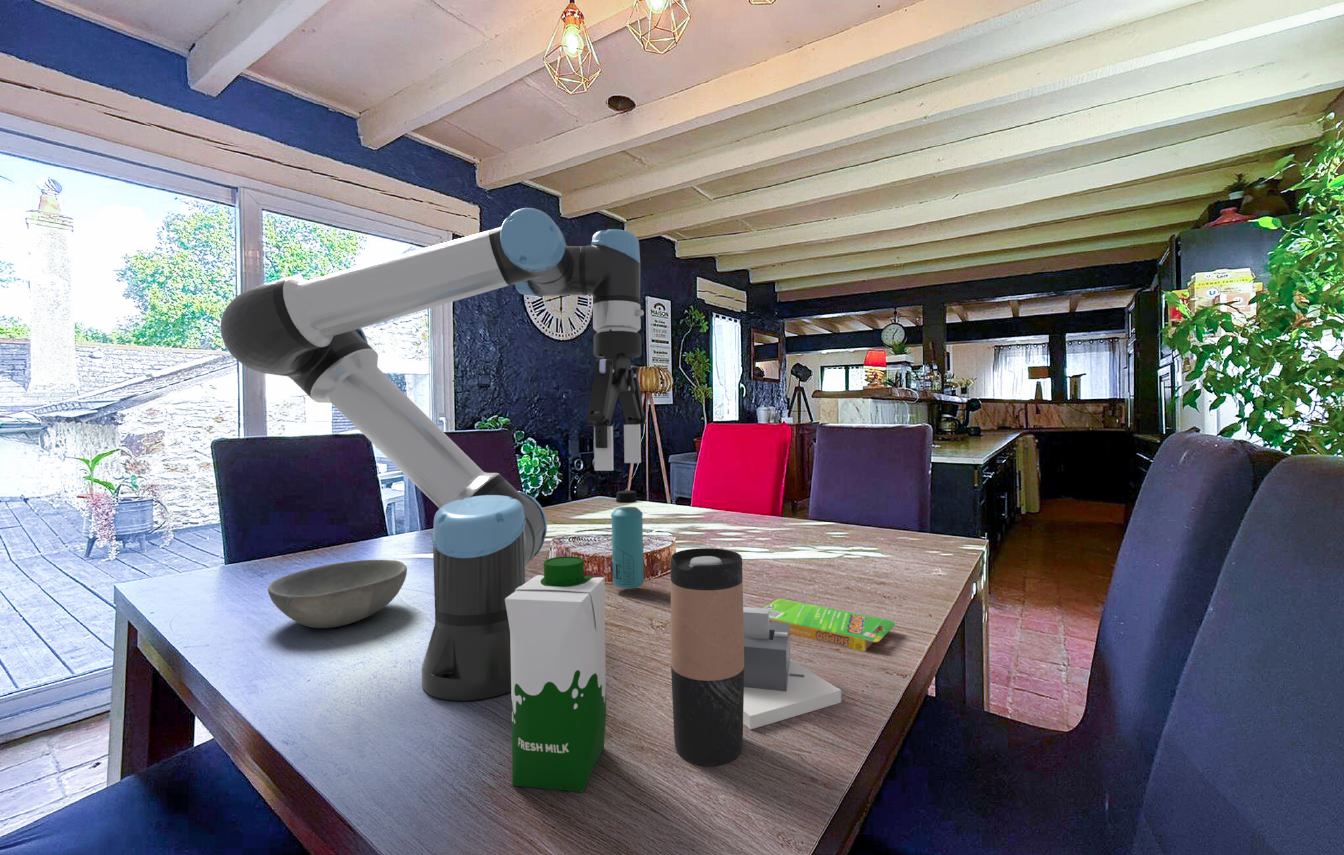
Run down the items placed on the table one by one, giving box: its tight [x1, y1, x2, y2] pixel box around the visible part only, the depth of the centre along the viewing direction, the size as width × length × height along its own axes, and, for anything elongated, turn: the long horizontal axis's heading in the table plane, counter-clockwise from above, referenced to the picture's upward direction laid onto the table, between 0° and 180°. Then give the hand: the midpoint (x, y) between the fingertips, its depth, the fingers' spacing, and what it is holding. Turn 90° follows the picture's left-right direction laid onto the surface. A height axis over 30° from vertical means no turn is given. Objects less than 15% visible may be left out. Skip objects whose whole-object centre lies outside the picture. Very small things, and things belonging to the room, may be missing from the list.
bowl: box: [267, 559, 408, 629], centre depth 100 cm, size 21×21×8 cm
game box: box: [763, 598, 896, 652], centre depth 92 cm, size 3×10×20 cm
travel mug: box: [670, 547, 744, 767], centre depth 60 cm, size 8×8×20 cm
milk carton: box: [505, 555, 607, 793], centre depth 57 cm, size 9×9×20 cm
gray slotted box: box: [744, 622, 791, 692], centre depth 74 cm, size 9×9×5 cm
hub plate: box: [743, 606, 842, 730], centre depth 74 cm, size 13×18×10 cm
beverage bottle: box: [610, 490, 646, 589], centre depth 113 cm, size 6×7×20 cm
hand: (619, 466), depth 91 cm, fingers open, 13 cm apart
